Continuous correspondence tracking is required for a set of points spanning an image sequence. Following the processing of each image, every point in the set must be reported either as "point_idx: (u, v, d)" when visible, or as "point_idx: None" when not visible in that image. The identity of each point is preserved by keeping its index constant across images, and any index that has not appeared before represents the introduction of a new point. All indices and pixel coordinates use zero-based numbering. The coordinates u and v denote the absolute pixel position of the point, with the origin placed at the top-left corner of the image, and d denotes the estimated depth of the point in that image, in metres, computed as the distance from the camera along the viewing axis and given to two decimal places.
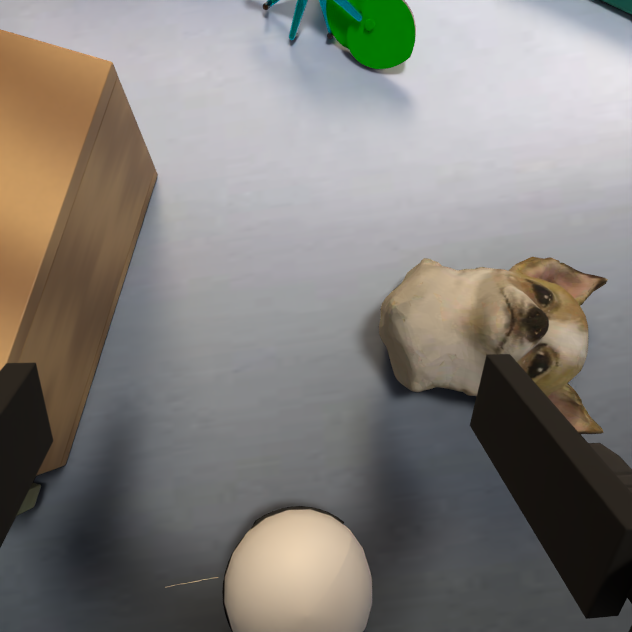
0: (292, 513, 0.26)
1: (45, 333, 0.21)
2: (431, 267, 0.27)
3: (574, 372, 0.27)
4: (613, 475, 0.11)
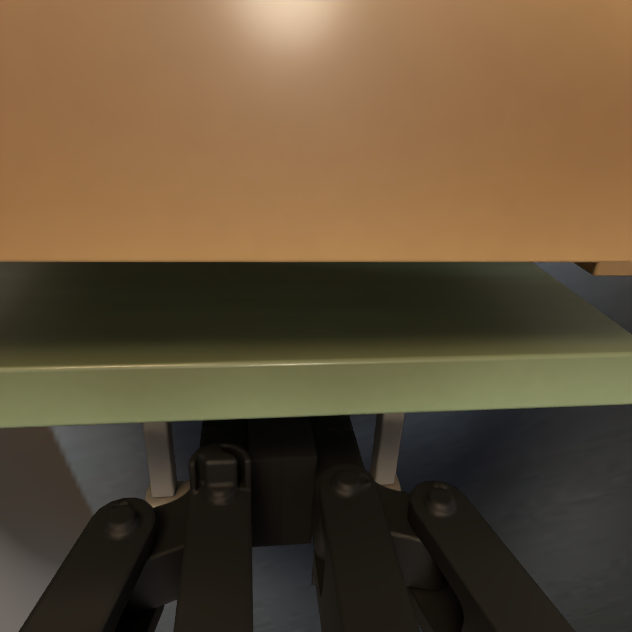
0: None
1: None
2: None
3: None
4: None
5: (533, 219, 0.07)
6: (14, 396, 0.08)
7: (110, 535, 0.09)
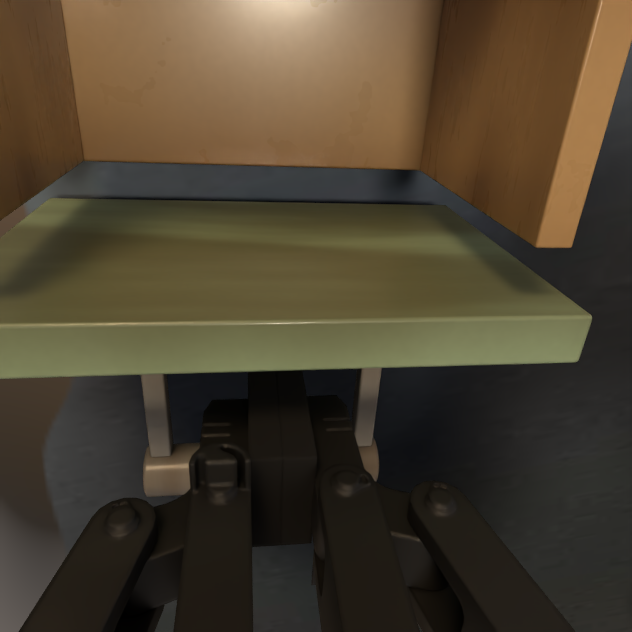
0: None
1: None
2: None
3: None
4: (307, 416, 0.12)
5: None
6: (34, 349, 0.10)
7: (110, 535, 0.09)
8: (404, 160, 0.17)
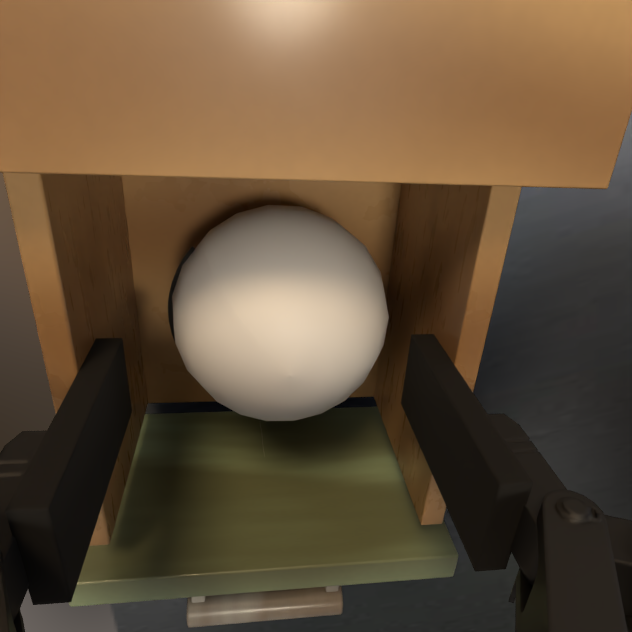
0: None
1: None
2: None
3: None
4: (501, 439, 0.12)
5: (432, 154, 0.11)
6: (139, 589, 0.17)
7: None
8: (362, 392, 0.24)
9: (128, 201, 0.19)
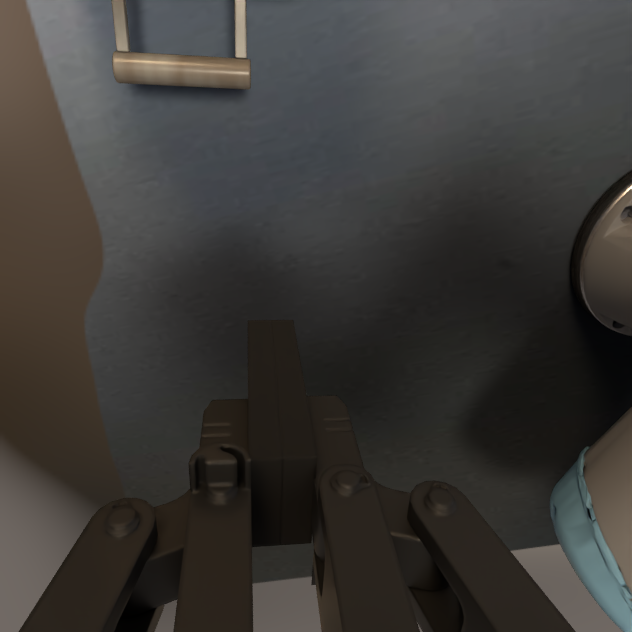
0: None
1: None
2: None
3: None
4: (307, 417, 0.12)
5: None
6: None
7: (111, 535, 0.09)
8: None
9: None
